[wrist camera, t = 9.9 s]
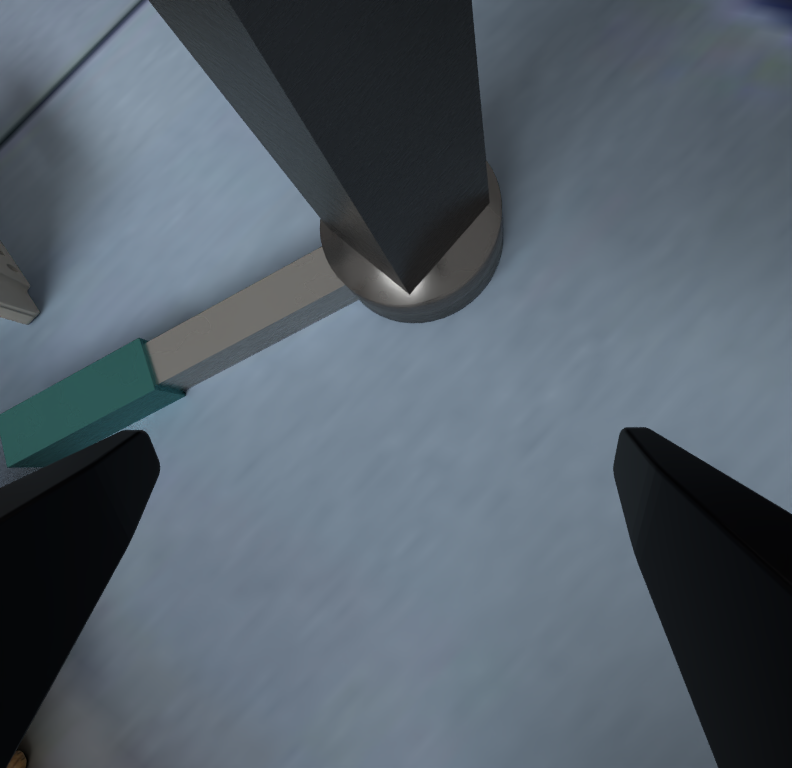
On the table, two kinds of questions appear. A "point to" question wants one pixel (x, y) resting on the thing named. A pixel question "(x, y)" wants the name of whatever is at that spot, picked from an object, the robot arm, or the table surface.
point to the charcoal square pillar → (357, 112)
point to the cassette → (14, 291)
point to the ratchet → (242, 337)
